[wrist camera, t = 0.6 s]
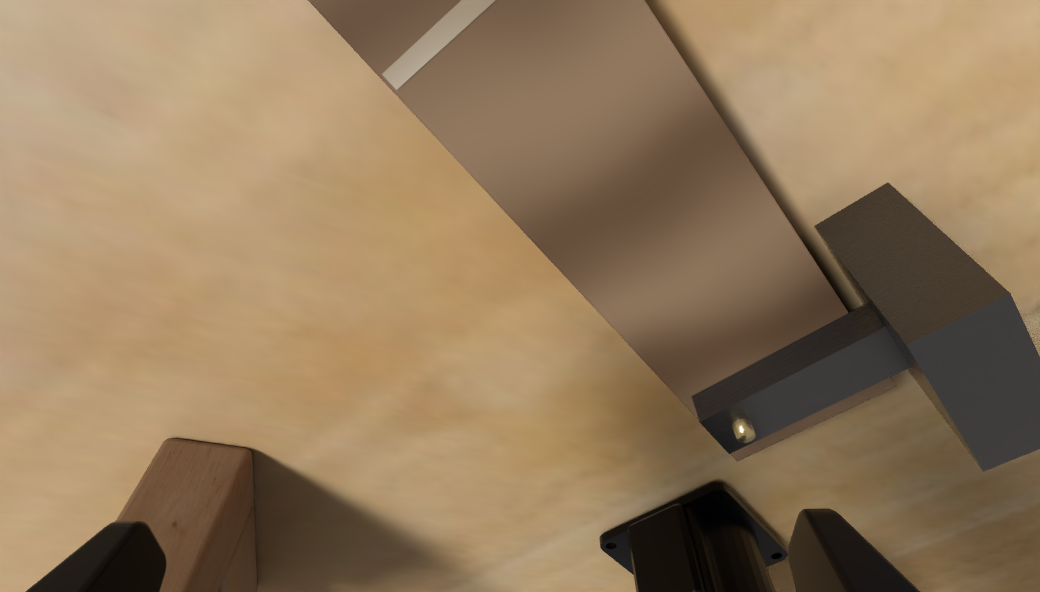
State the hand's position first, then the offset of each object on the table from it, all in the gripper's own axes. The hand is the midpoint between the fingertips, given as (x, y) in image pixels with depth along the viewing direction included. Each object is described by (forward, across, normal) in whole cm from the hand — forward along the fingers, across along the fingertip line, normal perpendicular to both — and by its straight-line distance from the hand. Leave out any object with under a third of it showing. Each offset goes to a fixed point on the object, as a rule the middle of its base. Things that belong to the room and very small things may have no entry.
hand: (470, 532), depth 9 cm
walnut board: (+13, -4, 0) cm, 13 cm away
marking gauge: (+13, -10, +6) cm, 17 cm away
